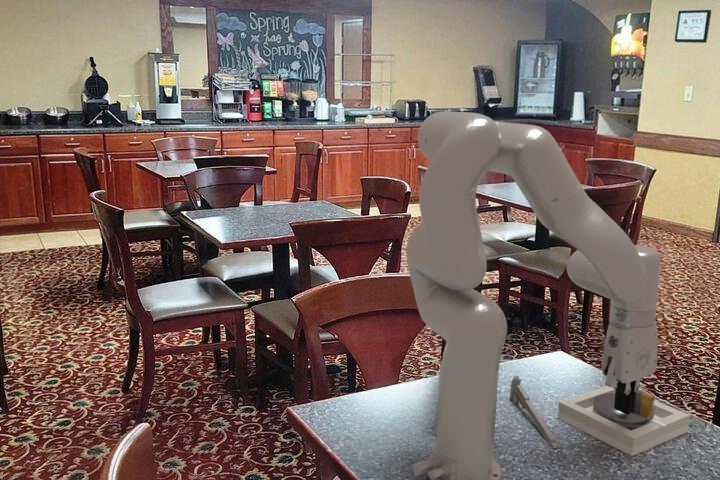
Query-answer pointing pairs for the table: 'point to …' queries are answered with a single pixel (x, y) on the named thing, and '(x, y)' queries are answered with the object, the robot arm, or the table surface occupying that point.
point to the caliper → (530, 409)
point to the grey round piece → (632, 421)
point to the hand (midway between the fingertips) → (624, 410)
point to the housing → (631, 442)
